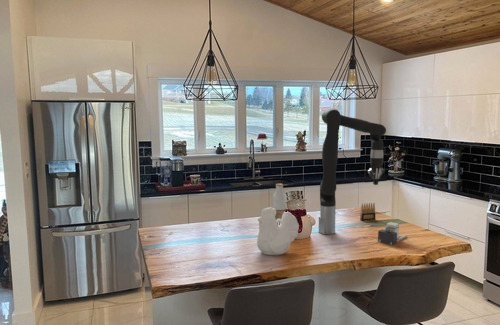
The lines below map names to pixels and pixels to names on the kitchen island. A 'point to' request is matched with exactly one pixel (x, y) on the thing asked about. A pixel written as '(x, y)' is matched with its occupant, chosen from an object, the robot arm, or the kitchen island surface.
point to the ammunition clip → (367, 212)
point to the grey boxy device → (389, 236)
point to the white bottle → (279, 201)
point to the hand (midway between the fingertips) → (375, 184)
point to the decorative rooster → (276, 232)
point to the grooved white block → (394, 228)
